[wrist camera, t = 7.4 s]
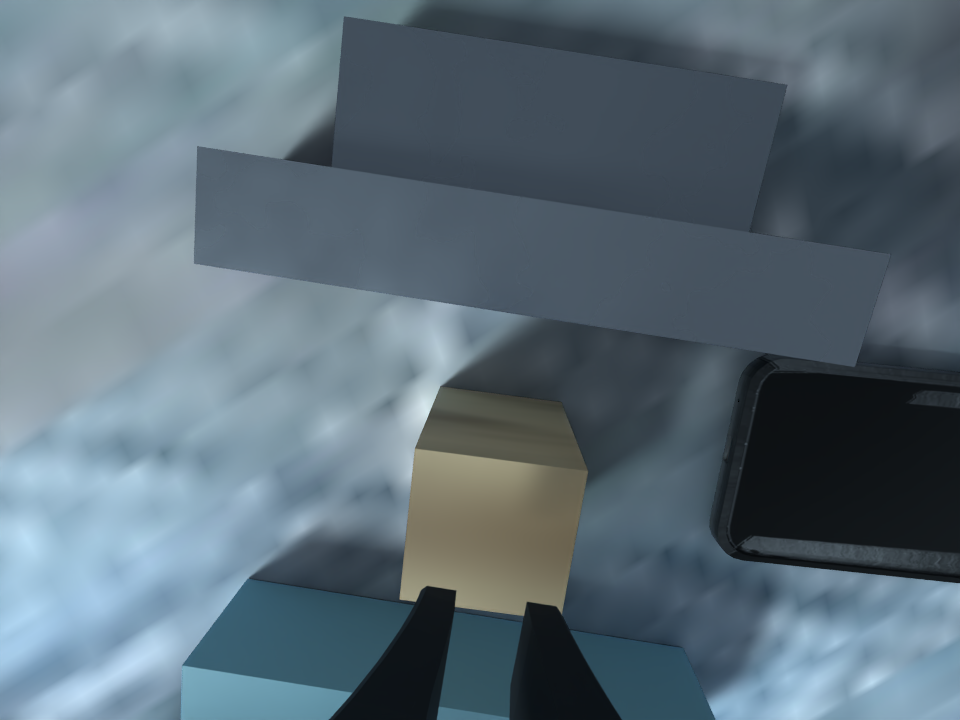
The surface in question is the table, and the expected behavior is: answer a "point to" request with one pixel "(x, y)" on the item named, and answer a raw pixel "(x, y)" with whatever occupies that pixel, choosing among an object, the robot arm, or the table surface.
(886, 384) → the phone
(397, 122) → the vise
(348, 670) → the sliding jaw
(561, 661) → the robot arm
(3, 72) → the table surface
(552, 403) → the oak block
